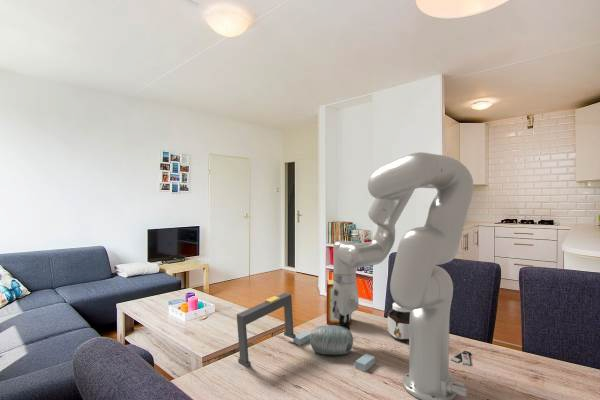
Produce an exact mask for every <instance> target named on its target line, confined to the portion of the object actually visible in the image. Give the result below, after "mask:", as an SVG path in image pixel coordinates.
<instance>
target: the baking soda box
mask: <svg viewBox="0 0 600 400" xmlns="http://www.w3.org/2000/svg"><path fill="white" fill-rule="evenodd" d="M333 283H334V282H333V279H326V304H325V305H326V309H325V311H326V314H325V315H326V317H325V318H326V325H335V326H339V320H338V319H336V318H334V313H333V312H332V289H333ZM351 325H352V319H351V320H350V326H351Z"/></svg>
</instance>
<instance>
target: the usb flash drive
mask: <svg viewBox="0 0 600 400" xmlns="http://www.w3.org/2000/svg"><path fill="white" fill-rule="evenodd" d="M470 355H471V356H472V353H471V352H470V351H467V350H464V351H461V352H460V353H459V354H455V355H454V356H453V357H452V358H451V360H450V361H454V362H456V363H457V364H458V363H460V362H462V365H463V366H467V365H468V367H471V361H470ZM459 361H460V362H459Z"/></svg>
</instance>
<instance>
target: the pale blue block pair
mask: <svg viewBox="0 0 600 400" xmlns="http://www.w3.org/2000/svg"><path fill="white" fill-rule="evenodd" d="M310 334H311V332H308V331H302V332H299V333H298V334H296V337H295V338H294V339H293V338H292V339H293V340H292V341H293V343H294V344H297V345H298V346H301V345H304V344H305V343H307V342H309V341H310ZM375 364H376V356H374V355H372V354H369V353H364V354H363V355H361V357H359V358H358V359H356V360H355V369H357V370H359V371H362V372H366V371H368V370H369V369H370V368H371V367H373V366H374V365H375Z"/></svg>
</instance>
